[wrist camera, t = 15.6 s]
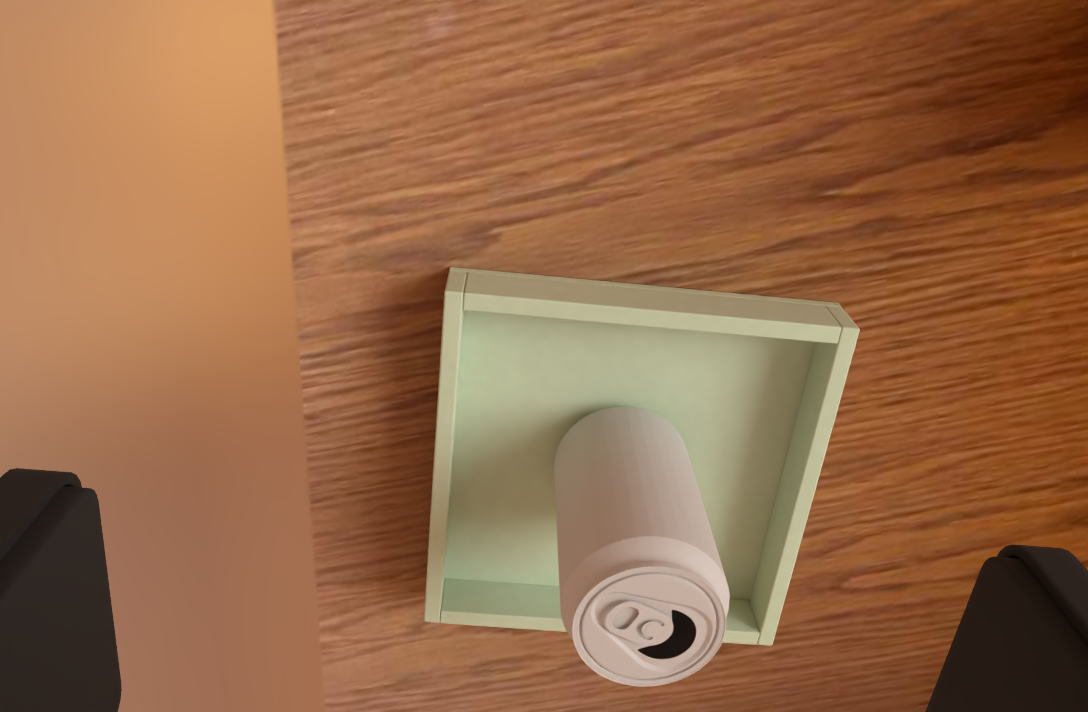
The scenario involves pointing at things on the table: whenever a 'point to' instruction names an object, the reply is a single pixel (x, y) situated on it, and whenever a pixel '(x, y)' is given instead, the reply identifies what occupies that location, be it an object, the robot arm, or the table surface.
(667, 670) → the beverage can
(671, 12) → the table surface
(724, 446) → the tray
